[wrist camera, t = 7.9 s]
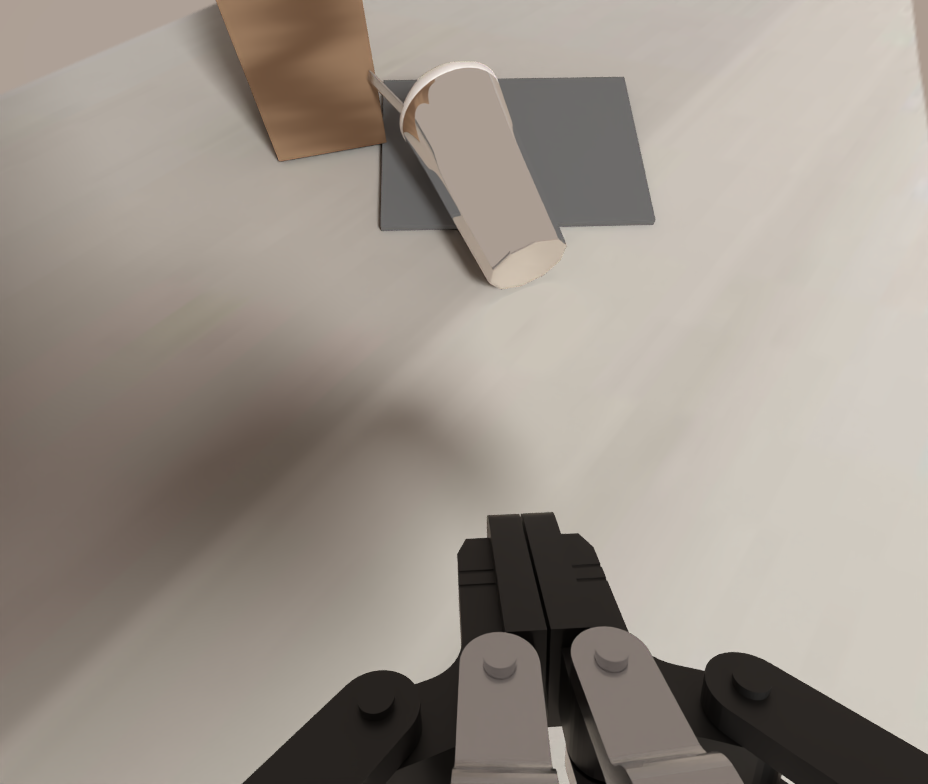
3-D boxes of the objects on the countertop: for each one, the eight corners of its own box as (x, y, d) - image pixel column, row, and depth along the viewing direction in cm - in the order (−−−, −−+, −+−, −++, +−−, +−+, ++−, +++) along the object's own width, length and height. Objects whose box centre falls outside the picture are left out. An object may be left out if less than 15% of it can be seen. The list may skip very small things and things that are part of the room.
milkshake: (440, 309, 23) (356, 119, 25) (546, 290, 25) (459, 119, 28) (484, 236, 19) (380, 21, 22) (604, 222, 21) (497, 31, 24)
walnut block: (279, 161, 26) (190, -65, 18) (270, 90, 28) (188, -141, 20) (386, 142, 27) (346, -88, 19) (370, 73, 29) (328, -160, 21)
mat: (381, 230, 25) (380, 226, 25) (384, 85, 29) (383, 80, 28) (653, 224, 25) (655, 219, 25) (622, 82, 29) (624, 76, 29)
